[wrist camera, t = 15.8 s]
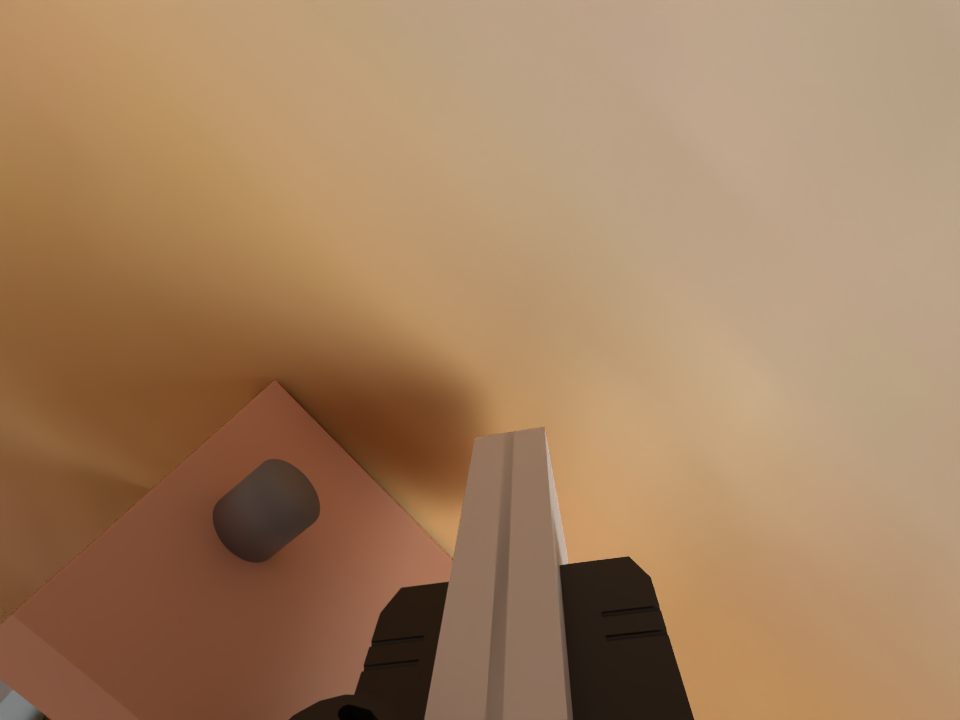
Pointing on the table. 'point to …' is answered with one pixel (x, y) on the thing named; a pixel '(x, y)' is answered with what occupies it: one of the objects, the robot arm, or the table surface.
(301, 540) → the door
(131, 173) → the table surface
